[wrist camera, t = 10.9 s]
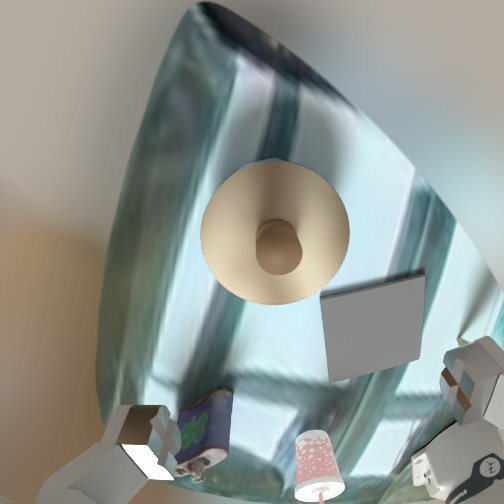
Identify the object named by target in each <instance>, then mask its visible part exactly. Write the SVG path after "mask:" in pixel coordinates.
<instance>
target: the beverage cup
mask: <svg viewBox="0 0 504 504" xmlns="http://www.w3.org/2000/svg"><path fill="white" fill-rule="evenodd" d="M296 474H297V487H296V488H295V498H297V499H298V500H301V501H305V502H317V501H319V503H320V504H324V502H323V500H327V499H330V498H333V497H335V496H337V495H339V494H340V493H342V492H343V491H344V489H345V484H344V481H343V480H342V479H341V477H340V474H339V470H338V467H337V463H336V460H335V456H334V453H333V449H332V446H331V442H330V439H329V436H328V434H327V433H326V432H325V431H322V430H310V431H306V432H304V433H302V434H300V435H299V436H298V437H297V438H296Z"/></svg>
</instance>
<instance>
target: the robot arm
mask: <svg viewBox="0 0 504 504" xmlns="http://www.w3.org/2000/svg"><path fill="white" fill-rule="evenodd" d="M443 363H444V364H445V366H446V367H445V369H444V370H443V371H442V372H441V376H440V389H441V392H442V395H443V397H444V399H445V401H446V402H448V403H450V404H452V405H453V408H452V413H453V415H454V417H455V418H456V420H457V422H456V423H455V424H453V425H452V426H450V427H449V428H447V429H446V430H444V431H443V432H442V433H441V434H439V435H438V436H437V437H436V438H435V439H434V440H433V441H432V442H430V443H429V444H428V445H427V446H426V447H425V448H423V449H421V450H420V451H418V452H417V453H415V454H414V455H413V456H412V457H411V463H412V479H413V484H414V486H420V485H426V487H427V490H428V492H429V494H430V496H431V497H433V498H437V499H441V500H445V503H446V504H504V442H503V440H502V438H501V436H500V434H499V432H498V429H497V427H498V428H500V429H502V430H504V351H503V350H502V349H501V348H500V347H499V346H498V345H497V343H496V342H495V341H494V340H493V339H492V338H491V337H489V336H485V337H483V338H480V339H478V340H475V341H474V342H470V343H468V344H465V345H463V346H460V347H457V348H455V349H452V350H449V351H447V352H446V354H445V355H444V360H443ZM169 417H170V412H169V410H168V408H167V407H166V406H164V405H119V406H117V407H116V409H115V411H114V413H113V415H112V417H111V420H110V422H109V424H108V426H107V429H106V431H105V433H104V436H103V438H102V440H101V442H100V443H95V444H94V445H93V446H91V447H90V448H89V449H87V450H86V451H85V452H84V453H82V454H81V455H79V456H78V457H77V458H75V459H74V460H73V461H71V462H70V463H69V464H67V465H66V466H65V467H63V468H62V469H60V470H59V471H58V472H56V473H55V474H53V475H52V476H51V477H49V478H48V479H46V480H45V483H44V485H43V487H42V489H41V491H40V493H39V495H38V498H37V500H36V502H35V504H127V503H128V502H129V501H130V500H131V499H132V497H133V496H134V495H135V494H136V493H137V492H138V491H139V490H140V489H141V488H142V487H143V485H144V484H145V483H146V482H147V481H148V479H174V476H175V471H176V466H177V461H176V459H175V458H174V456H175V455H176V454H177V453H178V452H179V451H180V448H181V433H180V430H179V427H178V425H177V424H176V422H174V421H172V420H171V419H169ZM496 426H497V427H496ZM0 504H15V503H13V502H11V501H9V500H7V499H5V498H3V497H1V496H0Z"/></svg>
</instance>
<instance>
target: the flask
mask: <svg viewBox="0 0 504 504" xmlns="http://www.w3.org/2000/svg"><path fill="white" fill-rule="evenodd" d="M232 403H233V394H232V392H231V391H230V390H229V389H226V388H225V387H223V388H220V389H216V390H214V391H212V392H211V394H210V395H208V396H206V397H205V398H204V397H203V398H202V399H200V400H199V401H198V402H197V403H196V405H194V406H193V405H191V407H190V408H189V409H185V410H184V411H182V412H179V415H178V421H177V425H178V427H179V430H180V433H181V448H180V451H179V452H178V453H177V454H176V455H175V456H174V458H175V459H176V461H177V466H176V471H175V476H185V475H190V474H191V476H190V477H191V479H192V480H196V479H199V478H201V474H202V473H203V472H204V470H205V469H208V468H209V467H211V466H213V465H215V464H217V463H218V462H220V461H222V460H223V459H224V458H226V457H227V455H228V454H229V436H230V426H231V414H232ZM204 479H206V477H204ZM203 481H204V480H203V479H200V480H198V481H195V482H197V483H198V482H203Z"/></svg>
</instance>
